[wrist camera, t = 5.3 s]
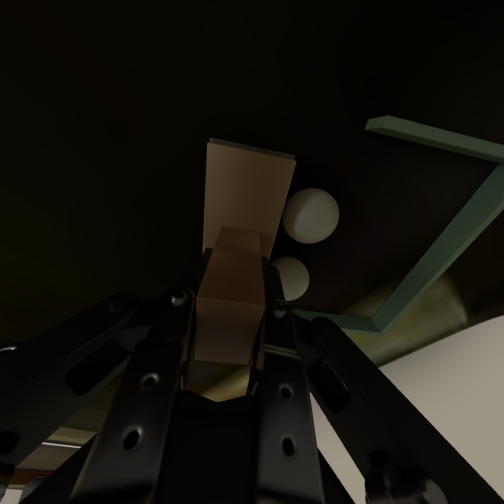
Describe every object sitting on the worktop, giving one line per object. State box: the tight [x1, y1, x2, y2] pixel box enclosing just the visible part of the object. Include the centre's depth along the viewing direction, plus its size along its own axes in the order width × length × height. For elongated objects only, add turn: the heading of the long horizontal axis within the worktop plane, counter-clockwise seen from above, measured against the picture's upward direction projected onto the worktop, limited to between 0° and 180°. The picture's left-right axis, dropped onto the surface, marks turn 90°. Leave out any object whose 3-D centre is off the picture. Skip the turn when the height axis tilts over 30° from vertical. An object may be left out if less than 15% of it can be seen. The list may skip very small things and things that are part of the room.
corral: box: [292, 116, 504, 336], centre depth 16 cm, size 12×19×2 cm, turn 169°
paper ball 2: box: [282, 188, 339, 243], centre depth 13 cm, size 4×4×4 cm
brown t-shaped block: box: [195, 138, 296, 365], centre depth 11 cm, size 5×13×10 cm, turn 170°
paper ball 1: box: [269, 256, 309, 300], centre depth 16 cm, size 4×4×4 cm
